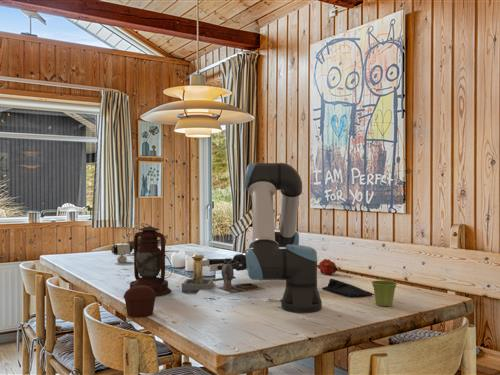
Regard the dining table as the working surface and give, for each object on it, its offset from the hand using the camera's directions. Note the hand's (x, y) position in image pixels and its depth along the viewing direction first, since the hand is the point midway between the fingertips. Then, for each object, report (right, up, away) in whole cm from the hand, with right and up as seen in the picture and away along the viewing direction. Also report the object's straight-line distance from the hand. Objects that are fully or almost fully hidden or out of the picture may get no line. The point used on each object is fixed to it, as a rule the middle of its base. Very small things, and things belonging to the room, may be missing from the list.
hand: (203, 266), depth 218 cm
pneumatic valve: (-57, -10, +78) cm, 97 cm away
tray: (-2, -10, -1) cm, 10 cm away
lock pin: (-2, -9, -1) cm, 9 cm away
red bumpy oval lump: (+62, -10, +36) cm, 72 cm away
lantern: (-23, -10, -8) cm, 26 cm away
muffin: (-18, -10, -44) cm, 49 cm away
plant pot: (+72, -10, -30) cm, 79 cm away
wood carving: (-51, -10, +123) cm, 134 cm away
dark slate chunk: (+63, -11, -7) cm, 64 cm away
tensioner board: (+17, -10, -6) cm, 21 cm away
